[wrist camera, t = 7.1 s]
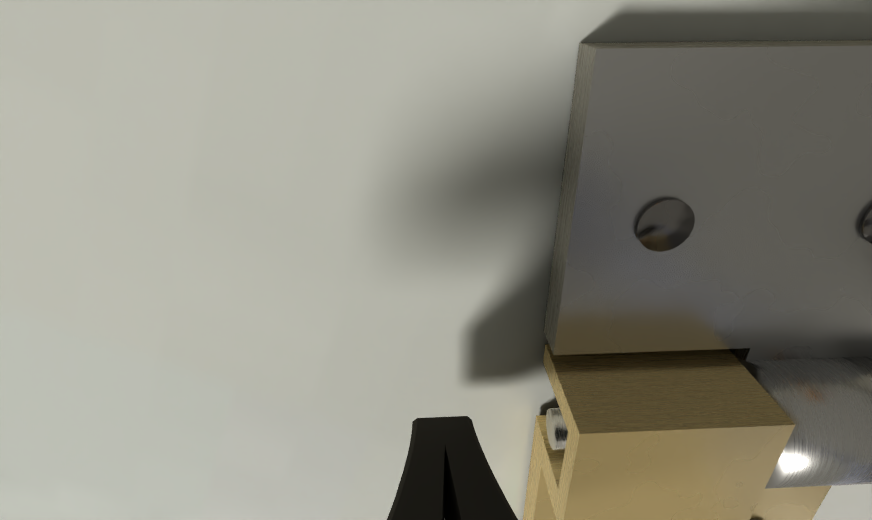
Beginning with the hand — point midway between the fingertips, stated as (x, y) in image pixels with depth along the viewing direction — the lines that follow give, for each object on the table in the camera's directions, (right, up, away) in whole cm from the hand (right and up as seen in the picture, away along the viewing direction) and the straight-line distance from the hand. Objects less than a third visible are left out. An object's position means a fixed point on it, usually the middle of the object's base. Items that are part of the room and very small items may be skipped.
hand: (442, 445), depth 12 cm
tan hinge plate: (+7, -2, +4) cm, 8 cm away
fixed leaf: (+7, +4, 0) cm, 8 cm away
